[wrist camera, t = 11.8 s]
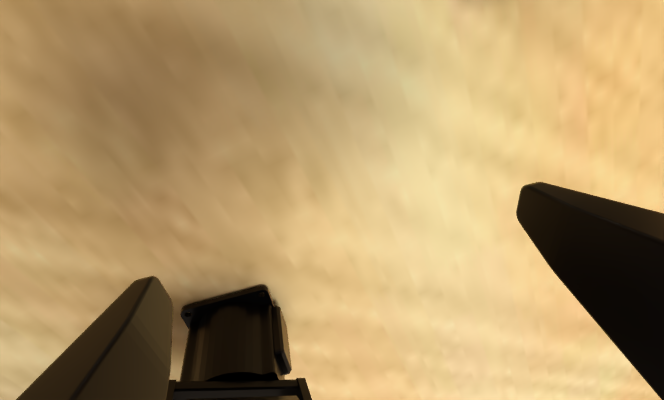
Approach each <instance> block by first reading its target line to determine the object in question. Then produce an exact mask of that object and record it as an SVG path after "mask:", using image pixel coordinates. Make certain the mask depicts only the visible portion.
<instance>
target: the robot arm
mask: <svg viewBox="0 0 664 400" xmlns="http://www.w3.org/2000/svg"><path fill="white" fill-rule="evenodd" d="M516 214H517V218H518V221H519V223H520V224H521V225H522V227H523V228H524V230H525V231H526V233H527V234H528V236H529V237H530V239H531V240H532V241H533V243H534V244H535V246H536V247H537V249H538V250H539V252H540V253H541V255H542V256H543V258H544V259H545V260H546V262H547V263H548V265H549V266H550V267H551V269H552V270H553V271H554V273H555V274H556V275H557V276H558V278H559V279H560V280H561V281H562V282H563V283H564V285H565V286H566V287H567V288H568V289H569V291H570V292H571V293H572V294H573V295H574V296H575V298H576V299H577V300H578V301H579V302H580V304H581V305H582V306H583V307H584V308H585V309H586V311H587V312H588V313H589V314H590V315H591V317H592V318H593V319H594V320H595V321H596V322H597V324H598V325H599V326H600V327H601V328H602V330H603V331H604V332H605V333H606V334H607V335H608V337H609V338H610V339H611V340H612V341H613V343H614V344H615V345H616V346H617V347H618V348H619V350H620V351H621V352H622V353H623V354H624V356H625V357H626V358H627V359H628V360H629V361H630V363H631V364H632V365H633V366H634V367H635V369H636V370H637V371H638V372H639V373H640V374H641V376H642V377H643V378H644V379H645V380H646V382H647V383H648V384H649V385H650V386H651V387H652V389H653V390H654V391H655V392H656V393H657V395H658V396H659V397H660V398H661V399H662V400H664V214H663V213H659V212H656V211H652V210H648V209H644V208H640V207H636V206H632V205H628V204H624V203H621V202H617V201H613V200H609V199H605V198H601V197H597V196H593V195H590V194H586V193H582V192H578V191H574V190H570V189H566V188H562V187H559V186H555V185H551V184H547V183H543V182H536V183H532V184H528V185H525V186H523V187H522V189H521V191H520V196H519V201H518V206H517V211H516ZM261 292H264V293H261ZM188 312H190V313H188ZM181 317H182V319H183V320H184V322H185V324H186V325H187V327H188V329H189V332H188V338H187V343H186V349H185V355H184V360H183V366H182V371H181V377H180V381H177V382H176V380H169V376H170V365H171V345H172V321H173V304H172V301H171V298H170V297H169V295H168V293H167V292H166V290H165V289H164V287H163V285H162V284H161V282H160V281H159V279H158V278H157V277H155V276H150V277H146V278H142V279H138V280H136V281H134V282H133V283H132V284H131V285H130V286H129V287H128V288H127V289H126V290H125V291H124V292H123V293H122V294H121V295H120V296H119V297H118V298H117V299H116V300H115V301H114V302H113V303H112V304H111V305H110V306H109V307H108V308H107V309H106V310H105V311H104V312H103V313H102V314H101V315H100V316H99V317H98V318H97V319H96V320H95V321H94V322H93V323H92V324H91V325H90V326H89V327H88V328H87V329H86V330H85V331H84V332H83V333H82V334H81V335H80V336H79V337H78V338H77V339H76V340H75V341H74V342H73V343H72V344H71V345H70V346H69V347H68V348H67V349H66V350H65V351H64V352H63V353H62V354H61V355H60V356H59V357H58V358H57V359H56V360H55V361H54V362H53V363H52V364H51V365H50V366H49V367H48V368H47V369H46V370H45V371H44V372H43V373H42V374H41V375H40V376H39V377H38V378H37V379H36V380H35V381H34V382H33V383H32V384H31V385H30V386H29V387H28V388H27V389H26V390H25V391H24V392H23V393H22V394H21V395H20V396H19V397H18V398H17V399H16V400H312V398H311V395H310V392H309V389H308V386H307V383H306V380H305V378H297V379H296V380H285V379H284V375H286V374H289V373H290V372H291V370H292V369H291V360H290V351H289V343H288V334H287V326H286V323H285V320H284V318H283V315H282V312H281V309H280V307H278V306H274V303H273V301H272V298H271V295H270V292H269V290H268V288H267V287H265V286H260V287H256V288H252V289H248V290H244V291H241V292H237V293H233V294H229V295H225V296H222V297H218V298H214V299H210V300H206V301H202V302H199V303H195V304H191V305H187V306H185V307H183V308H182V310H181Z"/></svg>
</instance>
